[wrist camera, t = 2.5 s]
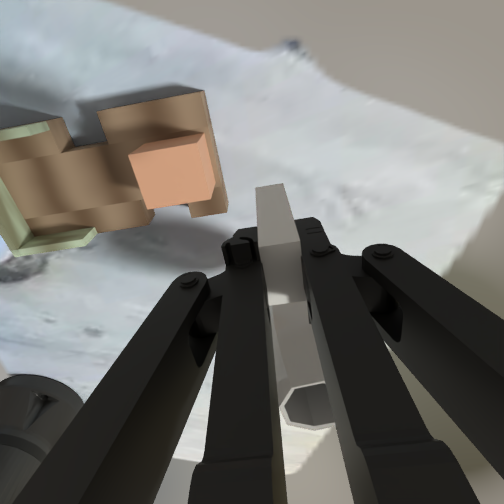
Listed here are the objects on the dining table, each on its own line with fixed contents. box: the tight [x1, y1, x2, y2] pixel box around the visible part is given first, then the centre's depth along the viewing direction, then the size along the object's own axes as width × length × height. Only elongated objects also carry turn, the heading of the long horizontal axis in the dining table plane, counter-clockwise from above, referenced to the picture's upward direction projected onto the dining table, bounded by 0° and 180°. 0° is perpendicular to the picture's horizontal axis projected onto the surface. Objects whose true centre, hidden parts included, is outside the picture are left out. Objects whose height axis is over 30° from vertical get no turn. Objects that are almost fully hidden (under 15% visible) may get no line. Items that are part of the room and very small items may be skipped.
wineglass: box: [269, 298, 336, 430], centre depth 32 cm, size 9×9×21 cm
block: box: [128, 133, 216, 210], centre depth 30 cm, size 6×5×5 cm
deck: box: [0, 91, 228, 257], centre depth 32 cm, size 23×12×6 cm, turn 99°
